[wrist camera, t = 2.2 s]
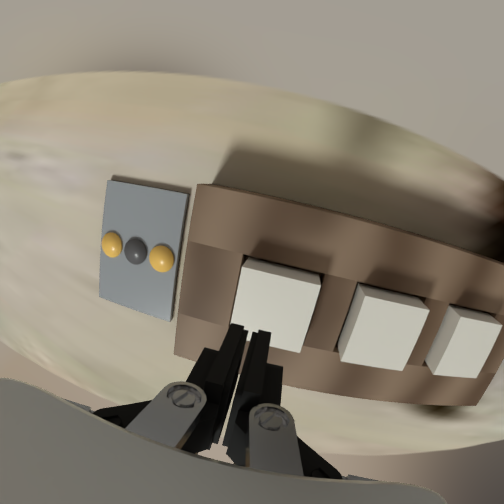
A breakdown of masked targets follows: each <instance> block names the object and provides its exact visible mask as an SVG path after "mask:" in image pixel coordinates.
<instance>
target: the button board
mask: <svg viewBox="0 0 504 504" xmlns="http://www.w3.org/2000/svg"><path fill="white" fill-rule="evenodd" d="M249 257H250V258H254V259H258V260H263V261H267V262H271V263H275V264H279V265H283V266H288V267H292V268H296V269H300V270H304V271H309V272H313V273H317V274H319V278H320V283H321V287H320V291H319V294H318V297H317V301H316V304H315V307H314V311H313V314H312V317H311V320H310V324H309V327H308V330H307V333H306V336H305V339H304V342H303V345H302V348H301V351H300V353H297V352H293V351H288V350H284V349H280V348H275V347H271V346H269V352H268V358H267V363H270V364H275V365H279V366H283V379H282V385H287V386H292V387H296V388H301V389H307V390H312V391H317V392H323V393H329V394H335V395H341V396H348V397H355V398H362V399H370V400H379V401H388V402H398V403H411V404H426V405H454V406H476V405H477V403H478V402H479V400H480V399H481V397H482V395H483V394H484V392H485V391H486V389H487V387H488V386H489V384H490V382H491V381H492V379H493V377H494V375H495V373H496V372H497V370H498V368H499V366H500V364H501V362H502V360H503V359H504V263H502V262H499V261H497V260H494V259H491V258H488V257H486V256H483V255H480V254H477V253H474V252H471V251H468V250H465V249H462V248H459V247H456V246H453V245H450V244H447V243H444V242H441V241H438V240H435V239H431V238H428V237H425V236H422V235H418V234H415V233H412V232H409V231H405V230H402V229H398V228H395V227H391V226H388V225H384V224H381V223H377V222H374V221H370V220H366V219H363V218H359V217H355V216H352V215H348V214H344V213H340V212H336V211H332V210H328V209H324V208H320V207H316V206H312V205H308V204H304V203H299V202H295V201H291V200H286V199H282V198H278V197H273V196H269V195H264V194H259V193H255V192H250V191H245V190H240V189H235V188H230V187H225V186H220V185H215V184H197V189H196V194H195V200H194V205H193V211H192V217H191V223H190V229H189V236H188V242H187V249H186V255H185V262H184V270H183V277H182V284H181V292H180V300H179V309H178V318H177V327H176V337H175V347H174V355H177V356H180V357H183V358H186V359H189V360H192V361H196V362H197V360H198V358H199V356H200V354H201V352H202V351H203V349H204V348H205V347H206V348H210V349H213V350H217V351H219V349H220V347H221V345H222V343H223V340H224V338H225V336H226V334H227V331H228V329H229V327H230V323H231V318H232V313H233V308H234V304H235V299H236V294H237V289H238V284H239V279H240V274H241V269H242V266H243V265H244V263H245V262H246V260H247V259H248V258H249ZM358 283H359V284H363V285H368V286H372V287H376V288H380V289H385V290H389V291H393V292H398V293H402V294H406V295H410V296H415V297H418V298H419V299H420V300H421V301H422V302H423V303H424V305H425V306H426V307H427V308H428V309H429V310H430V311H429V313H428V316H427V318H426V321H425V323H424V325H423V328H422V330H421V333H420V335H419V337H418V339H417V342H416V344H415V346H414V348H413V350H412V352H411V355H410V357H409V359H408V361H407V363H406V365H405V367H404V369H403V371H398V370H391V369H384V368H378V367H371V366H365V365H359V364H353V363H348V362H342V361H341V360H340V355H339V349H338V344H337V343H338V341H339V338H340V335H341V333H342V330H343V327H344V324H345V321H346V319H347V316H348V313H349V310H350V307H351V304H352V301H353V298H354V295H355V292H356V289H357V286H358ZM449 305H454V306H458V307H462V308H467V309H471V310H476V311H480V312H484V313H488V314H490V315H491V316H492V317H493V318H494V319H496V320H497V321H498V322H499V323H500V324H502V328H501V330H500V332H499V335H498V337H497V339H496V341H495V343H494V345H493V347H492V349H491V351H490V353H489V355H488V357H487V359H486V361H485V363H484V365H483V367H482V369H481V371H480V372H479V374H478V376H477V378H465V377H452V376H441V375H433V373H432V372H431V370H430V368H429V367H428V365H427V363H426V362H425V358H426V356H427V354H428V352H429V350H430V348H431V346H432V344H433V341H434V339H435V337H436V335H437V332H438V330H439V328H440V326H441V323H442V321H443V318H444V316H445V314H446V311H447V308H448V306H449ZM249 343H250V341H247V340H246V344H245V348H244V353H243V357H242V361H241V365H240V369H239V374H241V371H242V368H243V364H244V361H245V357H246V354H247V350H248V347H249Z"/></svg>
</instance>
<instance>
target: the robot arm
mask: <svg viewBox="0 0 504 504" xmlns="http://www.w3.org/2000/svg"><path fill="white" fill-rule="evenodd" d="M248 331H249V330H244V326H243V325H239V324H235V323H231V324H230V327H229V329H228V331H227V334H226V336H225V338H224V340H223V343H222V345H221V347H220V349H219V351H217V350H213V349H210V348H206V347H205V348H204V349H203V351H202V352H201V354H200V356H199V358H198V360H197V362H196V364H195V365H194V367H193V369H192V371H191V373H190V375H189V377H188V378H187V380H186V382H181V381H180V382H173V383H170V384H168V385H167V386H165V387H164V388H163V389H162V390H161V391H160V393H159V394H158V395H157V396H156V397H155V398H154V399H153V400H150V401H145V402H139V403H134V404H128V405H122V406H116V407H109V408H103V409H99V410H97V411H92V410H91V408H90V407H88V406H85V405H82V404H78V403H75V402H72V401H69V400H66V399H63V398H60V397H58V396H56V395H54V394H53V393H50V392H48V391H46V390H43V389H41V388H39V387H37V386H34V385H31V384H29V383H26V382H22V381H18V380H15V379H9V378H0V504H447V502H446V501H445V499H444V498H443V497H442V496H441V495H439V494H438V493H436V492H434V491H432V490H430V489H427V488H424V487H419V486H415V485H411V484H405V483H398V482H385V481H378V480H372V479H368V478H363V477H358V476H353V475H348V476H347V477H344V476H341V474H340V473H339V472H338V471H337V469H335V468H334V467H333V466H332V465H331V464H329V463H328V462H327V461H326V460H324V459H323V458H322V457H321V456H319V455H318V454H317V453H316V452H315V451H314V450H312V449H311V448H310V447H309V446H308V445H307V444H305V443H304V442H303V441H302V440H301V439H300V438H299V437H297V435H296V429H295V423H294V419H293V417H292V415H291V414H290V412H289V411H288V410H286V409H285V408H283V407H281V406H280V403H281V391H282V379H283V366H279V365H275V364H270V363H267V358H268V352H269V346H270V340H271V333H272V332H268V331H263V330H258V333H257V332H252V336H251V339H250V343H249V347H248V350H247V354H246V357H245V361H244V364H243V368H242V371H241V375H240V378H239V382H238V385H237V389H236V393H235V397H234V401H233V405H232V409H231V413H230V417H229V421H228V425H227V429H226V433H225V436H224V441H223V444H222V445H223V446H227V447H228V449H227V452H226V454H227V455H228V456H229V457H230V458H231V460H232V461H233V462H234V464H230V463H226V462H222V461H218V460H214V459H211V458H207V457H203V456H200V455H198V452H201V451H203V450H206V449H208V450H210V448H211V444H212V443H216V444H218V441H219V438H220V435H221V432H222V429H223V425H224V422H225V419H226V416H227V412H228V409H229V406H230V402H231V399H232V396H233V392H234V389H235V386H236V382H237V378H238V374H239V369H240V365H241V361H242V357H243V353H244V348H245V344H246V340H247V335H248Z"/></svg>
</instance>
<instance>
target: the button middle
mask: <svg viewBox="0 0 504 504" xmlns="http://www.w3.org/2000/svg"><path fill="white" fill-rule="evenodd" d="M429 311H430V310H429V309H428V308H427V307H426V306H425V305H424V303H423V302H422V301H421V300H420V299H419V298H418V297H415V296H410V295H406V294H402V293H398V292H393V291H389V290H385V289H380V288H376V287H372V286H368V285H363V284H359V283H358V286H357V289H356V292H355V295H354V298H353V301H352V304H351V307H350V310H349V313H348V316H347V319H346V321H345V324H344V327H343V330H342V333H341V335H340V338H339V341H338V343H337V344H338V349H339V355H340V360H341V361H342V362H348V363H353V364H359V365H365V366H371V367H378V368H384V369H391V370H398V371H403V369H404V367H405V365H406V363H407V361H408V359H409V357H410V355H411V352H412V350H413V348H414V346H415V344H416V342H417V339H418V337H419V335H420V333H421V330H422V328H423V325H424V323H425V321H426V318H427V316H428V313H429Z"/></svg>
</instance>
